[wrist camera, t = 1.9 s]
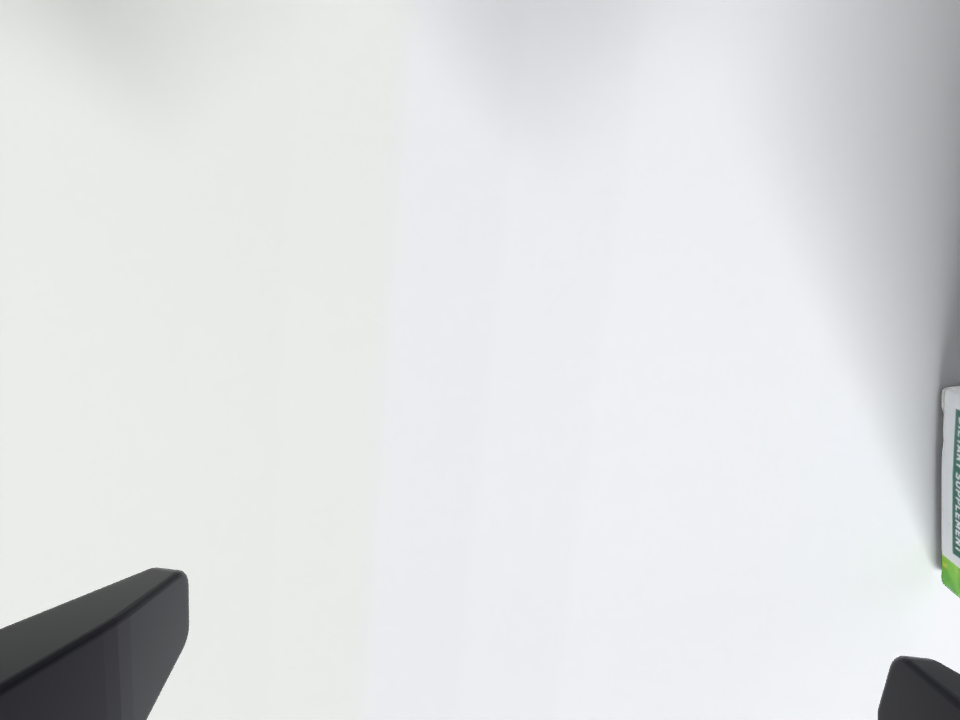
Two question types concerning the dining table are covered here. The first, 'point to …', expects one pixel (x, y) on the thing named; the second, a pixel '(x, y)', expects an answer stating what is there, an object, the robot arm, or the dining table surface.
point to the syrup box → (951, 489)
